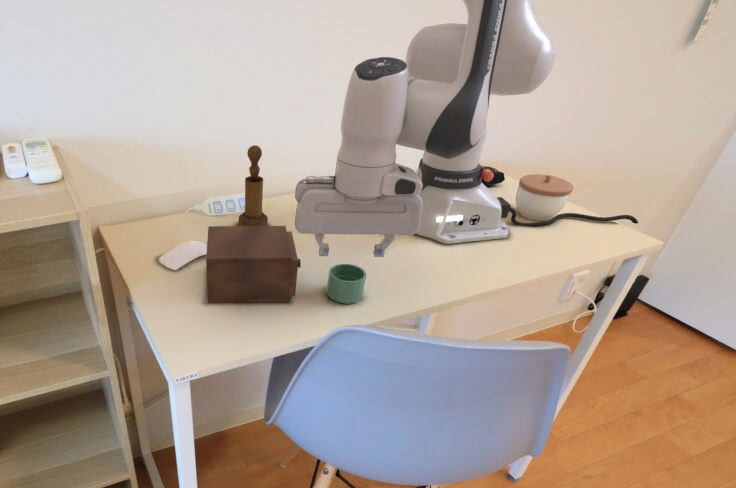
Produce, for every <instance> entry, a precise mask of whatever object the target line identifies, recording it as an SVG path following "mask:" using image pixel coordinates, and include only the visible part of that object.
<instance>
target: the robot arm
mask: <svg viewBox="0 0 736 488" xmlns="http://www.w3.org/2000/svg"><path fill="white" fill-rule="evenodd" d="M461 1H462V2H463V3H464V5H465V8H466V11H467V23H455V22H454V23H453V22H448V23H439V24H434V25H428V26H424V27H422V28H421V29H420V30H419V31H418V32H417V33H416V34H415V35H414V37H413V38H412V39H411V41H410V42H409V44H408V48H407V51H406V53H405V54H406V55H405V61H404V60H403V59H401V58H400V59H399V58H397V57H393V56H392V57H391V56H380V57H374V58H368V59H365V60H363V61H361V62H359V63H358V64H357V65H355V67H354V68H353V69H352V72H351V75H350V78H349V81H348V85H347V89H346V92H345V97H344V102H343V108H342V115H341V121H340V133H341V142H340V145H339V148H338V150H337V154H336V161H335V169H334V175H323V176H322V175H321V176H315V175H307V176H306V177H305V178H303V179H301V180H299V181H298V182H297V184H296V186H295V193H294V198H295V200H296V202H297V203H296V208H295V215H294V227H295V230H297V232H298V233H299V234H302V235H303V234H304V235H314V240H315V241H316V243H317V246H318V255H319V257H329V255H330V254H329V253H330V246H329V243H327V242H324V241H323V240H324V239H325V235H371V236H372V235H378V236H379V235H380V236H381V235H382V236H383V237H384V238H383V239H382V240H381V241H380V243H374V246H373V251H372V252H373V255H374V256H373V257H374V258H384V257H385V253H386V249H388V247H389V246H390V245H391V244H393V242H394V241H395V239H396V238H395V237H396V236H413V235H415V234H416V235H419V236H422V237H425V238H429V239H432V240H435V241H436V242H438V243H441V244H445V245H450V244H451V245H452V244H461V243H469V242H470V243H471V242H479V241H489V240H498V239H506V238H507V237H508V235H509V227H508V225H507V223H506V222H505V221H504V220H503V219H507V218H508V216H509V212H510V213H511V217H510V222H511V223H512V224H513V225H514V226H519V227H530V228H531V227H533V228H534V227H541V226H547V225H552V224H554V223H556V222H557V221H558V220H560V219H562V218H575V219H580V220H588V221H593V222H603V223H604V222H612V221H619V220H628V221H631V223H633V224H639V221H638V219H637V218H636V217H634V216H633V215H630V214H619V215H614V216H608V217H607V216H606V217H603V216H593V215H588V214H582V213H575V212H563V213H559V214H556V215H554V217H552V218H551V219H547V220H540V221H535V222H520V221H519V220H517V219H516V218H517V216H518V212H517V210H516V209H515V208H514V207H512V204H511V203H510V202H508V201H507V200H506V199H505V198H503V196H496V195H495V194H494V193H493V192H492V191H491V190H490V189H489V188H488V186H485V185H484V184H483V183H482V178H483V179H484V180H485V181H487V182H488V181H491V180H490V179H493V178H492V177H494V176H493V175H494V174H493V172H491V171H490V170H489V169H485V168H484V167H483V166H484V165H482V164H480V163H479V162H480V159H481V155H482V153H483V148H484V146H485V142H486V139H487V135H488V125H487V122H488V114H489V106H490V97H491V96H492V95H493V96H499V97H501V96H504V97H505V96H518V95H519V96H520V95H528V94H531V93H532V92H534V91H536V90H537V89H538V88H539V87H540V86H541V85H542V84H543V83H544V82H545V81H546V80H547V78H548V76H549V75H550V73H551V71H552V69H553V66H554V63H555V59H556V48H555V42H554V40H553V38H552V37H551V35H550V34H549V33H548V31H547V30H546V29H544V26H542V24H541V23H540V21H539V18H538V15H537V14H536V10H535V8H534V2H533V0H461ZM397 146H400V147H404V148H410V149H413V150H419V151H423V154H422V157H421V158H420V160H419V163H418V167H417V169H416V171H415V170H414V169H412V168H411V167H408V166H405V165H402V164H400V163H396V161H397V150H396V149H397Z"/></svg>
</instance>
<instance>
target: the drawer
mask: <svg viewBox="0 0 736 488" xmlns="http://www.w3.org/2000/svg"><path fill="white" fill-rule="evenodd" d="M287 236H288V241H289V246H290V251H291V256H292V263H291V277H290V290H289V297H296V291H297V280H298V279H297V278H298V269H299V268H301V264H302V262H301V258H298V254H297V249H296V244H295V240H294V235H293V230H292V231H287Z"/></svg>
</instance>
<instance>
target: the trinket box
mask: <svg viewBox="0 0 736 488" xmlns="http://www.w3.org/2000/svg"><path fill="white" fill-rule="evenodd" d="M573 189H574V185H573V183H572V182H570V181H568V180H566V179H564V178H562V177H559V176H554V175H552V174H539V173H536V174H527V175H524V176H522V177H520V179H519V181H518V186H517V189H516V194H515V205H516V207H517V209H518V211H519V214H520V216H522V217H523V218H526V219H527V220H528V219H529V220H532V221H548V220H549V218H552V217H553V216H556V215H558V213H559V212H560V211H561V210H562V209H563V208H564V207H565V205H566V203H567V202H568V200H569V198H570V195H571V193H572V192H573Z"/></svg>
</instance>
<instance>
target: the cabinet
mask: <svg viewBox="0 0 736 488" xmlns="http://www.w3.org/2000/svg"><path fill="white" fill-rule="evenodd" d="M206 240H207V242H206V244H207V253H206V255H205V266H206V267H205V268H206V269H205V270H206V293H207V304H257V303H259V304H260V303H261V304H263V303H264V304H265V303H266V304H267V303H270V304H272V303H273V304H275V303H278V304H279V303H280V304H281V303H284V304H286V303H289V302H290V301H289V300H290V296H289V290H290V277H291V263H292V256H291V251H290V246H289V241H288V236H287V226H286V225H268V226H239V225H208V228H207V239H206Z"/></svg>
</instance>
